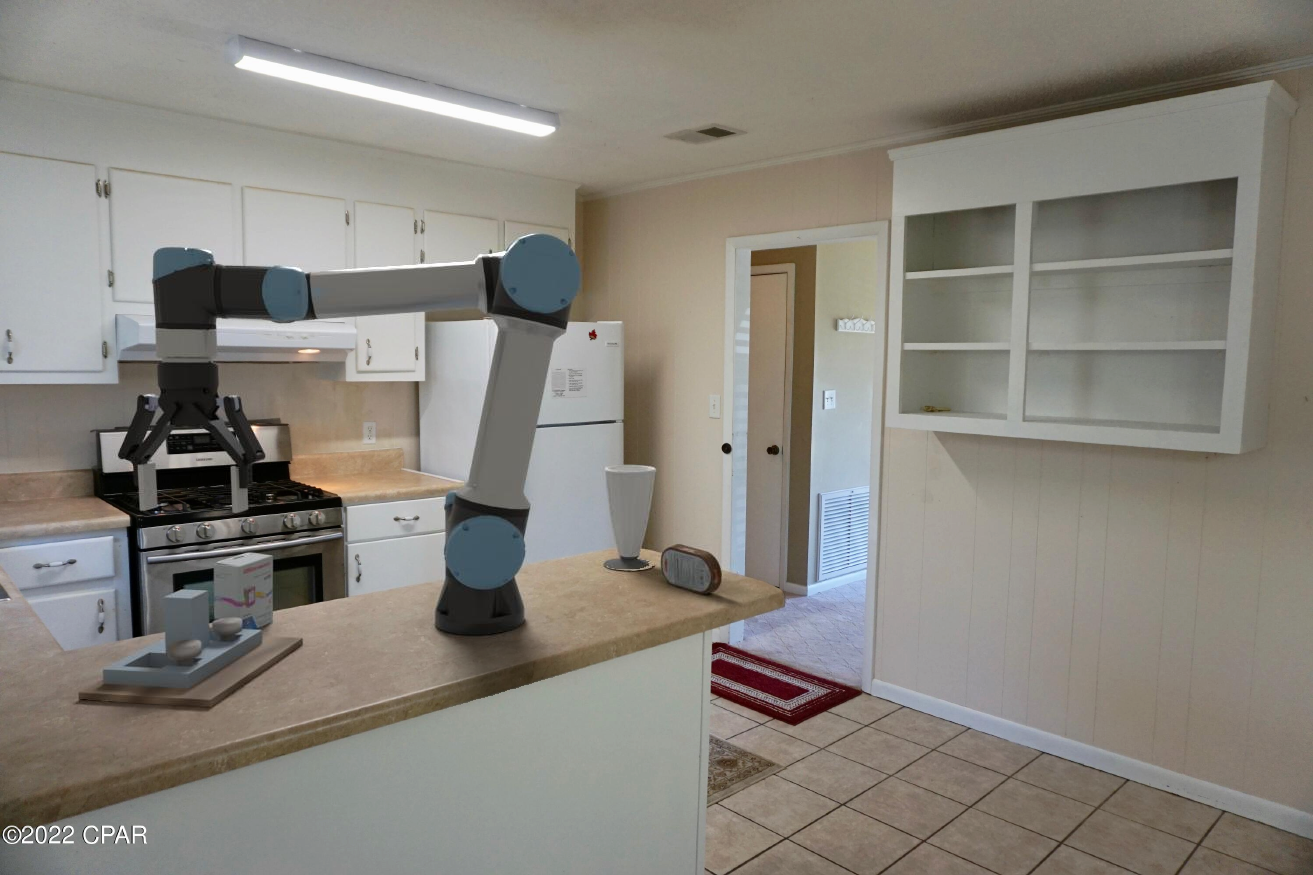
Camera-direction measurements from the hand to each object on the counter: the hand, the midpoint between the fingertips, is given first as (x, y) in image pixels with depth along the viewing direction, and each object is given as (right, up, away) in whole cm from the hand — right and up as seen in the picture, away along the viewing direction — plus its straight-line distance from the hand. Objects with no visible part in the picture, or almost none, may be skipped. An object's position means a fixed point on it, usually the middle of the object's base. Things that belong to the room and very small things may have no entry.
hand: (194, 510), depth 121 cm
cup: (+60, -18, +66) cm, 91 cm away
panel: (-1, -22, +1) cm, 22 cm away
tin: (+73, -20, +48) cm, 89 cm away
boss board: (+1, -23, +1) cm, 23 cm away
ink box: (-2, -21, +19) cm, 29 cm away
